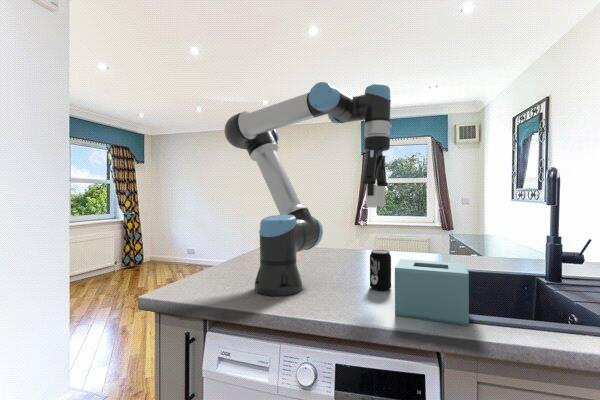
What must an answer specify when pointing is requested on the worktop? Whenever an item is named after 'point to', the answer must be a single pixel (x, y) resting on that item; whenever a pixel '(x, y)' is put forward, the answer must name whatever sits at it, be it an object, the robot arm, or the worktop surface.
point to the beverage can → (380, 270)
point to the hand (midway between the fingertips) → (376, 206)
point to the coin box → (432, 291)
